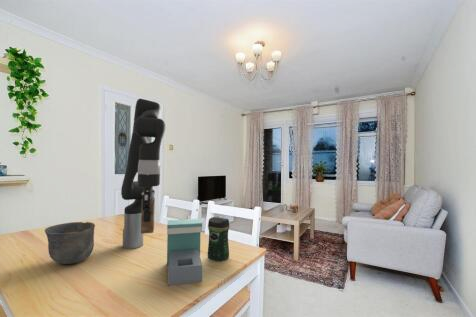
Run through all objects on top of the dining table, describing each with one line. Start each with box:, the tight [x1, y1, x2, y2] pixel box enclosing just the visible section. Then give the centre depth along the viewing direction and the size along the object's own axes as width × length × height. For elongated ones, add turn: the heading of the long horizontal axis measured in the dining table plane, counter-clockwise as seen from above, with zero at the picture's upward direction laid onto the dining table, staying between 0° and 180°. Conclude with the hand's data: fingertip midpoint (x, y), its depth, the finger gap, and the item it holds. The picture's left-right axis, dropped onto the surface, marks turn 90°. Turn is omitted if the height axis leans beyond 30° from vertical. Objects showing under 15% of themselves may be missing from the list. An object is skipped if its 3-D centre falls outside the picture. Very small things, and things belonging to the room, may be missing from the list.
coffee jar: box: [207, 216, 230, 263], centre depth 105 cm, size 10×8×19 cm
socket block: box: [167, 249, 203, 286], centre depth 90 cm, size 12×16×6 cm
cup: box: [44, 221, 96, 265], centre depth 99 cm, size 18×18×15 cm
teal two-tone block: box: [166, 218, 203, 266], centre depth 97 cm, size 14×8×18 cm, turn 105°
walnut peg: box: [141, 196, 156, 235], centre depth 83 cm, size 4×4×12 cm
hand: (147, 219), depth 83 cm, fingers closed on walnut peg, 4 cm apart
